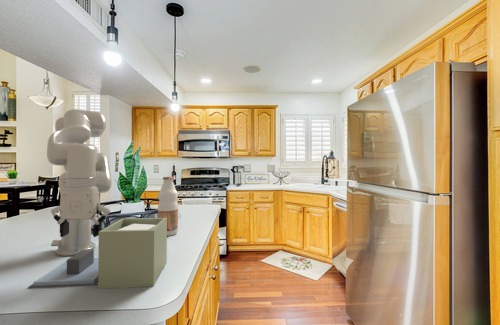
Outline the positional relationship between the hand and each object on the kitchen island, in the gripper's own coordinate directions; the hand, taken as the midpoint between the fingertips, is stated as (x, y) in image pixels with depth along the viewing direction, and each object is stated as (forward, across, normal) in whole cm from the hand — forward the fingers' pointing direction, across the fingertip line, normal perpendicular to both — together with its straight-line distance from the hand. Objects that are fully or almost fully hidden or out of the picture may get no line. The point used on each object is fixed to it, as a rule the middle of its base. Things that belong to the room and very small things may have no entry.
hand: (80, 235), depth 76 cm
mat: (+12, +1, -1) cm, 12 cm away
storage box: (+11, +19, -4) cm, 22 cm away
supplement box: (+11, +19, -4) cm, 22 cm away
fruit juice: (+13, +19, +38) cm, 44 cm away
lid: (+11, +1, -1) cm, 11 cm away
